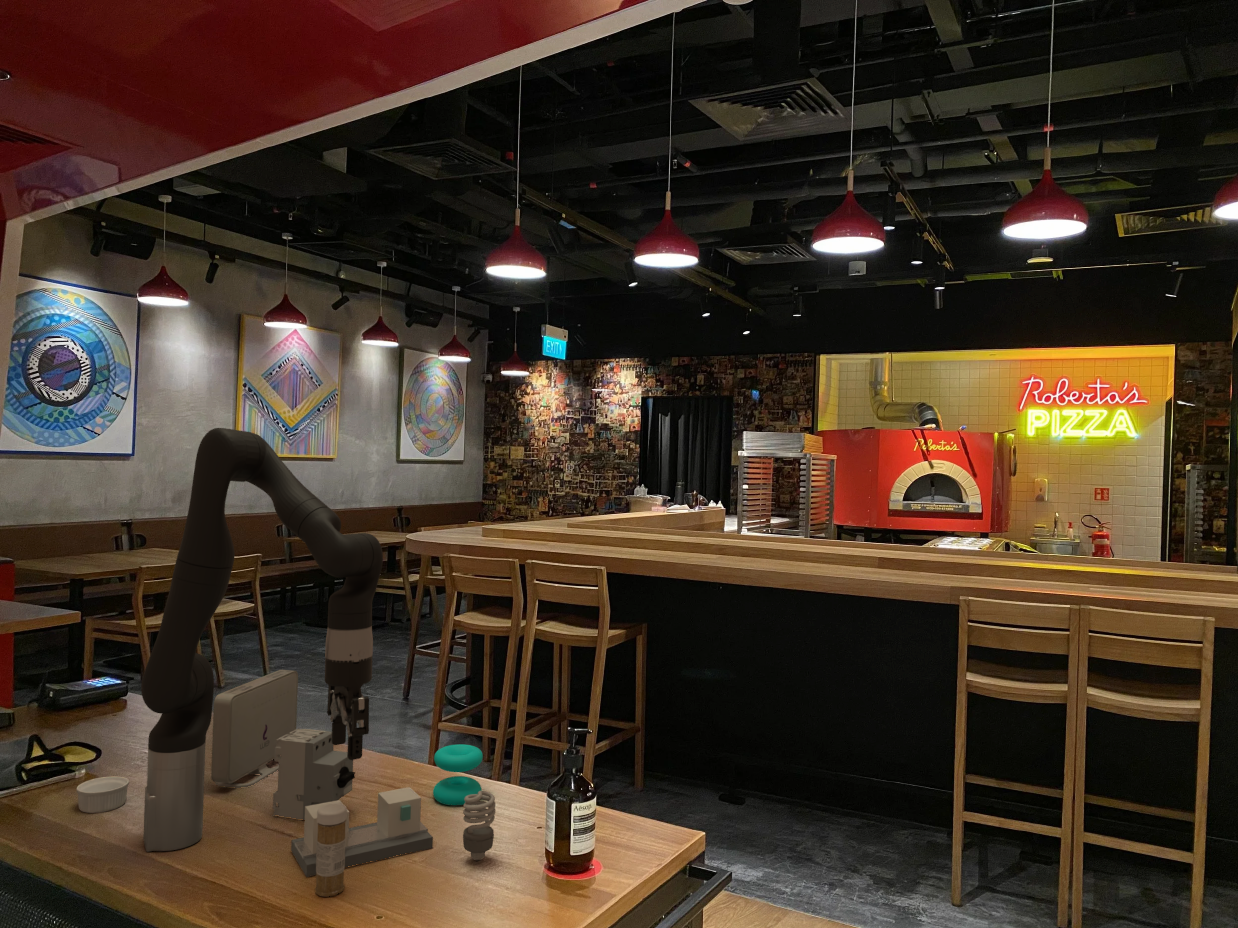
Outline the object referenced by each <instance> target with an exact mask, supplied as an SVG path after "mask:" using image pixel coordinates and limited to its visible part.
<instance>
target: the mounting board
mask: <svg viewBox="0 0 1238 928" xmlns="http://www.w3.org/2000/svg"><path fill="white" fill-rule="evenodd" d="M372 826H377V821H376V822H373V823H366V824H363V825H357V826H353V827H349V831H353V830H358V829H362V828H367V827H372ZM290 841H291V844H290V851H292V852H291V853H293V854H292V855H293V857H294V856H295V857H294V858H296V859H295V860H296V862H297V863H298V866H299V867H300V868H301V871H302V872H303V874H304V876H305V877H306V878H309V877H313V876H316V856H315V857H311V858H306V859H303V858H302V856H301V855H300V853H299V851H298V850H297V848H296V846H295V842H300V841H304V836H303V837H298V838H294V839H291V840H290ZM433 846H434V836H433V835H432V834H431V833H430V832H429V831H428V832H425V833H420V834H416V835H411V836H407V837H402V838H397V839H393V840H388V841H384V842H379V843H375V844H370V845H365V846H361V847H356V848H352V849H347V850H345V867H348V866H352V865H356V864H361V865H363V864H362V863H366V862H370V861H374V862H377V861H376V860H379V861H382V860H381V859H383V860H386V859H385V858H387V859H390V858H389V857H392V858H394V857H393V856H396V855H400V854H401V855H400V856H403V855H402V854H405V853H409V854H411V853H410V852H413V853H417V852H416V851H418V852H421V851H420V850H422V851H425V850H426V851H427V850H430V849H433ZM405 855H406V854H405ZM396 857H397V856H396ZM370 863H371V862H370ZM366 864H367V863H366ZM348 868H349V867H348Z"/></svg>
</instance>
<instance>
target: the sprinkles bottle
mask: <svg viewBox="0 0 1238 928" xmlns="http://www.w3.org/2000/svg"><path fill="white" fill-rule="evenodd" d="M347 810H348V808H347V806H346V805H345V804H339V803H332V804H326V805H323V806H321V807H320V808H319V809H318V811H317V822H318V837H317V852H316V875H315V888H314V892H315V894H316V895H317V896H320V897H329V896H330V897H334V896H337V895H339V894H341V892H343V891H344V889H345V884H344V880H345V879H344V878H345V877H344V876H345V875H344V874H345V873H344V872H345V869H346V868H345V822H346V818H347ZM338 893H339V894H338ZM330 897H329V898H330Z"/></svg>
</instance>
